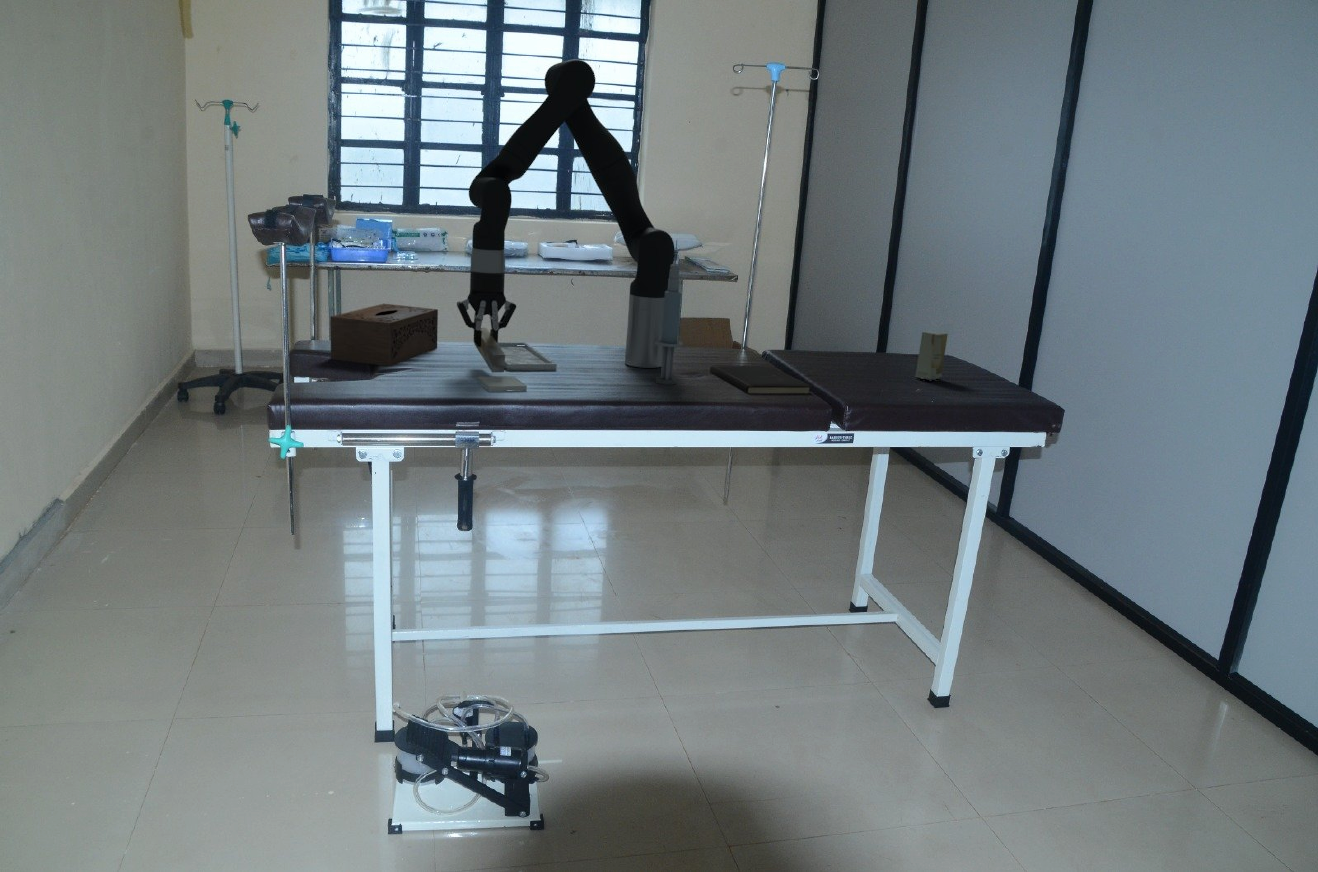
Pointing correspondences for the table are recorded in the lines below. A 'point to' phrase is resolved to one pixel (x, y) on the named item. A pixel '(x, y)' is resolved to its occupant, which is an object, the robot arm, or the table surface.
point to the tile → (502, 383)
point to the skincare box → (931, 355)
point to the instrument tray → (524, 358)
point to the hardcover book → (759, 379)
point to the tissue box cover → (383, 334)
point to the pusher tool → (491, 352)
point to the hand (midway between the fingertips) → (485, 345)
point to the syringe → (670, 325)
